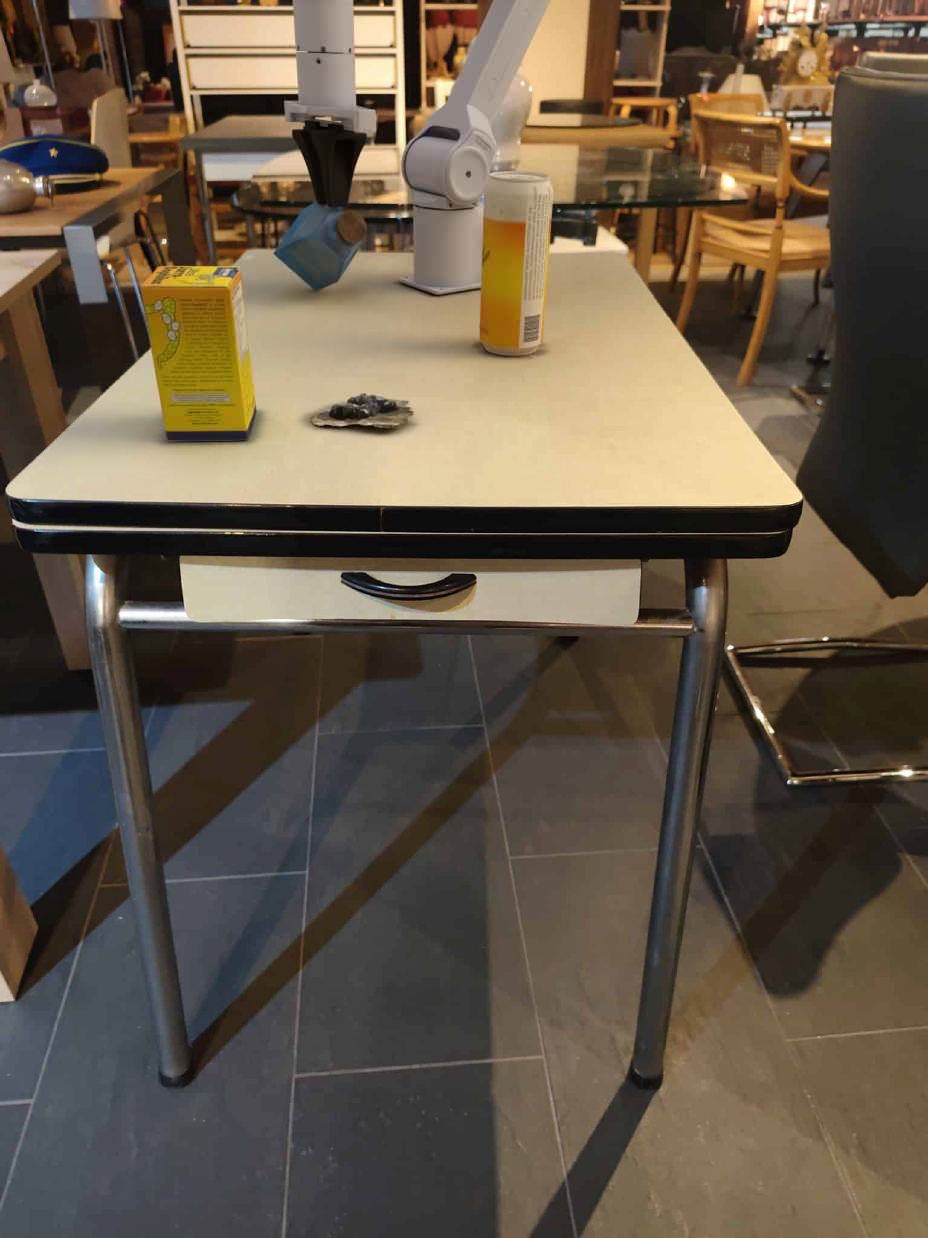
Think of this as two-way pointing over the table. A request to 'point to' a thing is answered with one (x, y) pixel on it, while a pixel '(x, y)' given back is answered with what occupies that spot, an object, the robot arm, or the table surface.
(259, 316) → the table surface
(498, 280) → the beer can
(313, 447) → the table surface
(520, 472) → the table surface
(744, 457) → the table surface
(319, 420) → the grey flat lumpy piece
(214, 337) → the supplement box
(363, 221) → the perfume bottle
